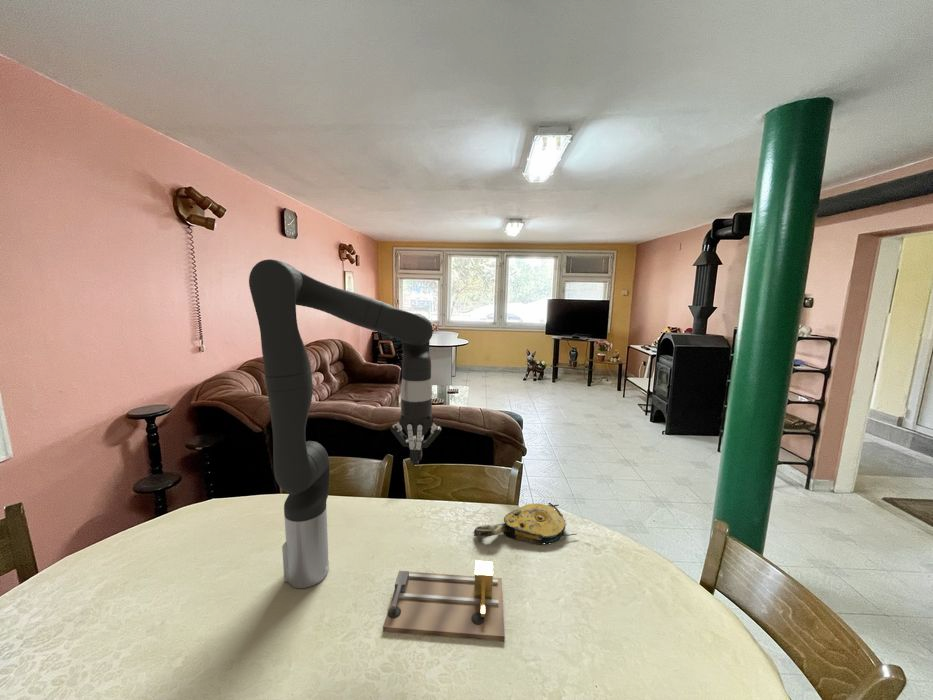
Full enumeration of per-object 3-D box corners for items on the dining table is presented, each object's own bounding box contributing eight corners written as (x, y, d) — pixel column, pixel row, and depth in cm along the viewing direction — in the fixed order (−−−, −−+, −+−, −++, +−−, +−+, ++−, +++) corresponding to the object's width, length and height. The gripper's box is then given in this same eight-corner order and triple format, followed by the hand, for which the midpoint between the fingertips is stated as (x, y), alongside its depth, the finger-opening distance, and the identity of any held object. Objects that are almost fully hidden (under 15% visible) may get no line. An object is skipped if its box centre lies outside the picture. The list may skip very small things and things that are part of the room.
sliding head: (473, 620, 76) (474, 595, 75) (474, 583, 85) (475, 560, 84) (492, 622, 75) (493, 597, 74) (491, 584, 85) (492, 562, 84)
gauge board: (383, 631, 74) (382, 617, 74) (400, 575, 89) (400, 562, 88) (504, 641, 73) (505, 626, 72) (501, 582, 88) (502, 569, 87)
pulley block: (468, 505, 108) (558, 494, 116) (467, 520, 110) (556, 509, 117) (480, 543, 95) (581, 528, 103) (479, 559, 97) (578, 544, 104)
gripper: (385, 399, 85) (386, 467, 88) (441, 401, 84) (440, 470, 87) (393, 390, 92) (394, 453, 95) (445, 392, 91) (443, 456, 94)
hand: (416, 461), depth 91 cm, fingers closed
